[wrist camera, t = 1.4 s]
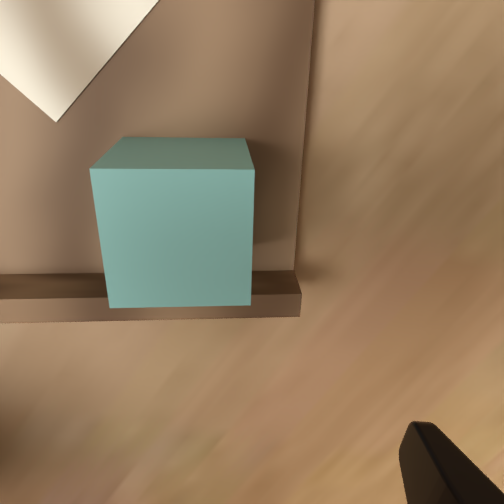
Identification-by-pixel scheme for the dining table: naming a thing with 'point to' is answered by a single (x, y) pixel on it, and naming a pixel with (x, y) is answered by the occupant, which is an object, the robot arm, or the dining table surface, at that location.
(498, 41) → the dining table surface
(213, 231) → the teal block
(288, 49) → the arena
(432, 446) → the robot arm
